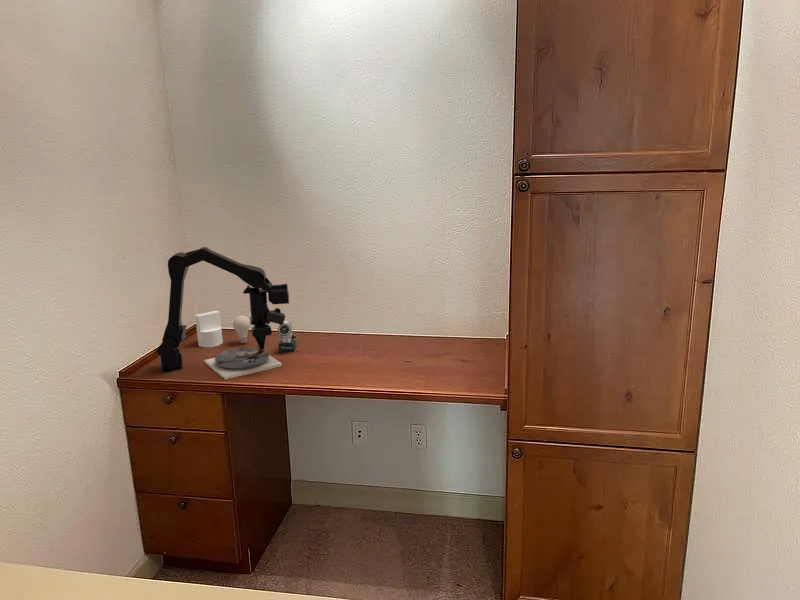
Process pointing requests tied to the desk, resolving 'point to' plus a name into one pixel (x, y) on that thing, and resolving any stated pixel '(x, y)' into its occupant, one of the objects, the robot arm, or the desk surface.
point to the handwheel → (242, 357)
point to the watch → (286, 338)
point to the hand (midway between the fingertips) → (262, 348)
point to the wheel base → (233, 373)
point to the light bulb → (242, 327)
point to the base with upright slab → (209, 329)
